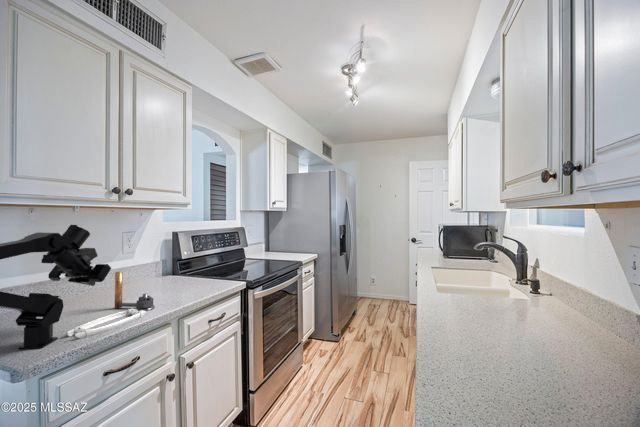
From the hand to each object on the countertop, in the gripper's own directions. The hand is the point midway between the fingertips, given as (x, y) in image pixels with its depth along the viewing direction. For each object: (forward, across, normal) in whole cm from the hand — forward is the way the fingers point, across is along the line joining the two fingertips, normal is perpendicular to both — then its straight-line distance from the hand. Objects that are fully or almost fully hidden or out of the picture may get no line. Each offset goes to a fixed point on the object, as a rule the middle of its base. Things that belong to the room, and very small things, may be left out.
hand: (93, 284), depth 108 cm
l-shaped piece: (+18, -6, 0) cm, 19 cm away
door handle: (+7, -10, +12) cm, 17 cm away
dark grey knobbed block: (+19, -11, 0) cm, 22 cm away
